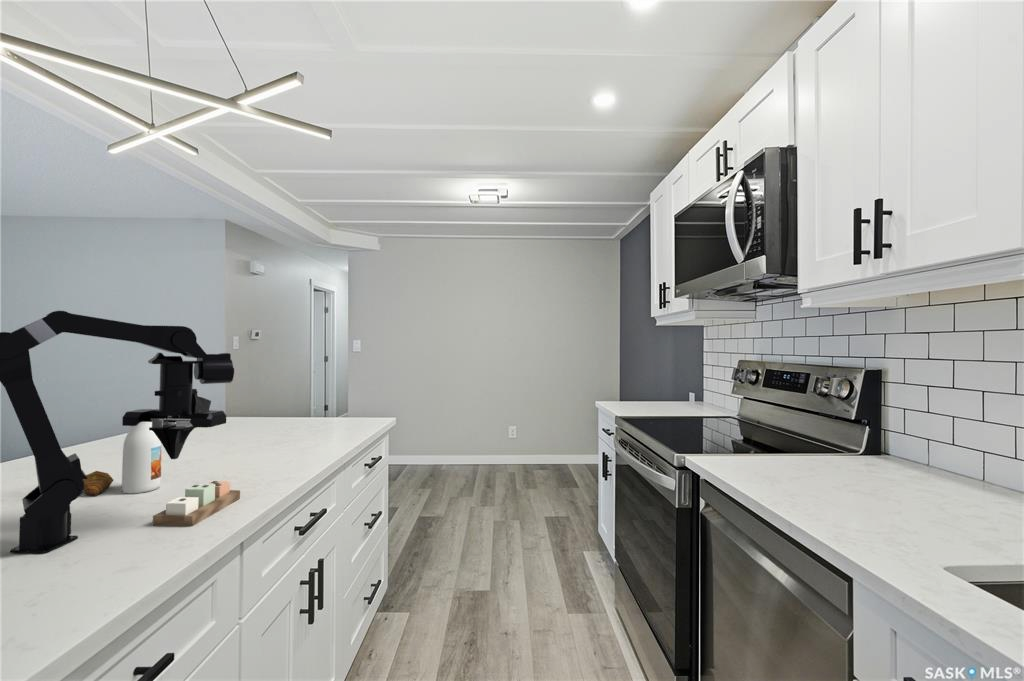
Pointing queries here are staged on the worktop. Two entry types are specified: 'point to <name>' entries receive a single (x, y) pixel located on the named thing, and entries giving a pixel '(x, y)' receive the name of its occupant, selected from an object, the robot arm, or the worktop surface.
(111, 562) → the worktop surface
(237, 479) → the worktop surface
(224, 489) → the key three
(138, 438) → the milk bottle
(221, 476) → the worktop surface
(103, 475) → the croissant
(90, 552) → the worktop surface
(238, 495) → the board
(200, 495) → the key two
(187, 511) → the key one
